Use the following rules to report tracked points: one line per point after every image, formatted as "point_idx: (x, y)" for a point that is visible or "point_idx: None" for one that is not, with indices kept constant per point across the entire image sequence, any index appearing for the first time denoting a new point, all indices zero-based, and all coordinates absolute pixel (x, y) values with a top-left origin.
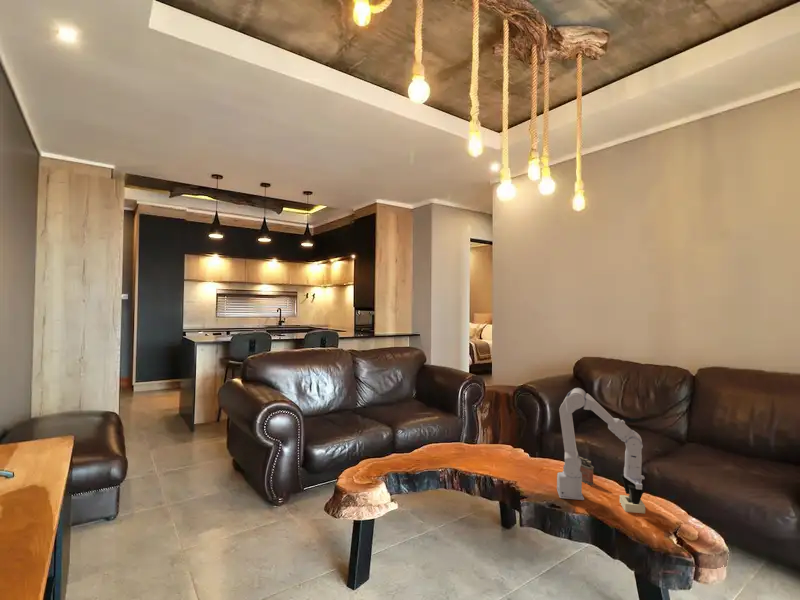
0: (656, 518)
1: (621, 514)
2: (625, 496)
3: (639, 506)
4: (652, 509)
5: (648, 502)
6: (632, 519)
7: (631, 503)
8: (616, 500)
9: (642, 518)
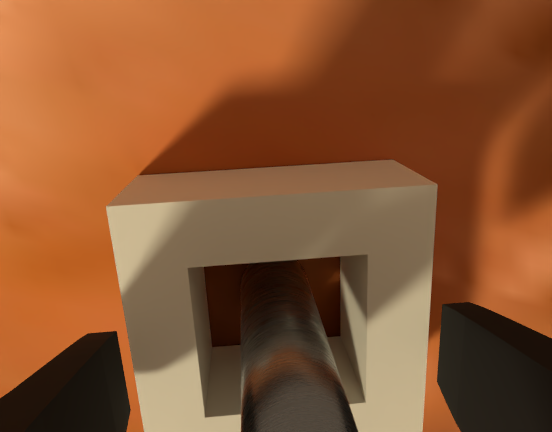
0: (500, 42)
1: (451, 416)
2: (177, 406)
3: (425, 263)
4: (251, 13)
5: (26, 3)
6: (543, 334)
7: (393, 369)
8: (132, 414)
9: (514, 224)
